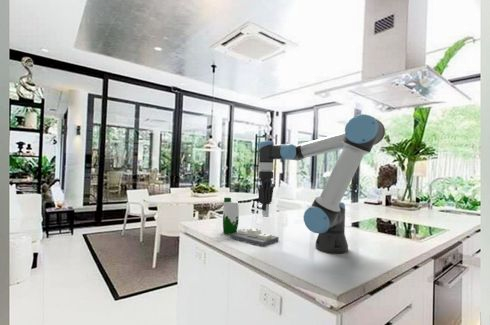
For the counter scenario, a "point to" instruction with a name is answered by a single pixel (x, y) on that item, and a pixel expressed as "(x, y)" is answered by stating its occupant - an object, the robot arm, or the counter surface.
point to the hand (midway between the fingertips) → (265, 216)
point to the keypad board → (253, 239)
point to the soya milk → (230, 216)
